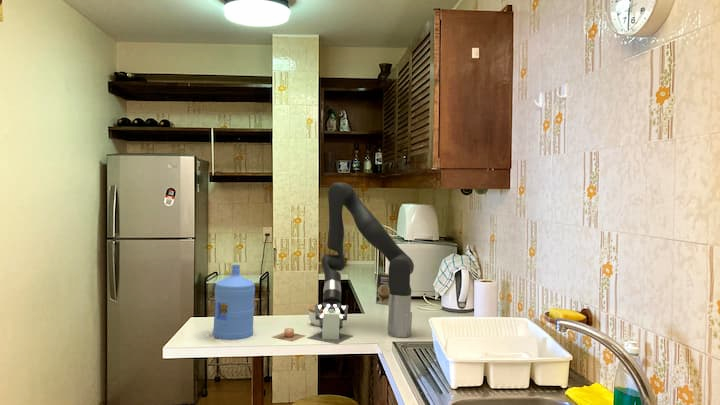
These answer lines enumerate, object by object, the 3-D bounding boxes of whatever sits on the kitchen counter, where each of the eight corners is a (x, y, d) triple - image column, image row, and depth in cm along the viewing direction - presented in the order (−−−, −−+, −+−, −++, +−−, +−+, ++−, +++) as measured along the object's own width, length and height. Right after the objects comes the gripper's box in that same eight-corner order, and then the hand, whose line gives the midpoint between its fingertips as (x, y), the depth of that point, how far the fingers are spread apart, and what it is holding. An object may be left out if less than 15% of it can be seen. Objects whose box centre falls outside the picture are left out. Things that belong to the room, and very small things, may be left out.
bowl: (295, 336, 198) (295, 329, 198) (290, 338, 195) (290, 331, 195) (287, 334, 200) (288, 327, 200) (282, 336, 197) (282, 329, 197)
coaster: (306, 336, 200) (306, 335, 200) (292, 342, 191) (292, 341, 191) (285, 332, 204) (285, 331, 204) (271, 338, 195) (271, 337, 195)
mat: (353, 336, 202) (353, 335, 202) (337, 345, 190) (337, 344, 190) (324, 331, 209) (324, 330, 209) (306, 339, 196) (306, 338, 196)
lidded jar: (310, 328, 212) (311, 307, 212) (306, 322, 223) (307, 301, 223) (334, 328, 215) (335, 306, 215) (329, 322, 225) (330, 301, 225)
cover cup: (322, 334, 202) (323, 307, 202) (338, 335, 203) (339, 308, 203) (322, 339, 196) (323, 311, 196) (338, 339, 196) (339, 311, 196)
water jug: (252, 329, 207) (255, 262, 207) (253, 340, 192) (256, 268, 192) (213, 330, 203) (216, 262, 203) (211, 341, 188) (214, 267, 188)
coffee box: (375, 303, 271) (376, 274, 271) (378, 301, 277) (379, 272, 277) (391, 305, 268) (393, 275, 268) (394, 303, 274) (395, 274, 274)
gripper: (315, 287, 206) (312, 322, 194) (349, 288, 207) (349, 323, 195) (315, 297, 212) (312, 332, 200) (348, 298, 212) (348, 333, 201)
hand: (330, 328), depth 198 cm, fingers closed on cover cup, 6 cm apart
